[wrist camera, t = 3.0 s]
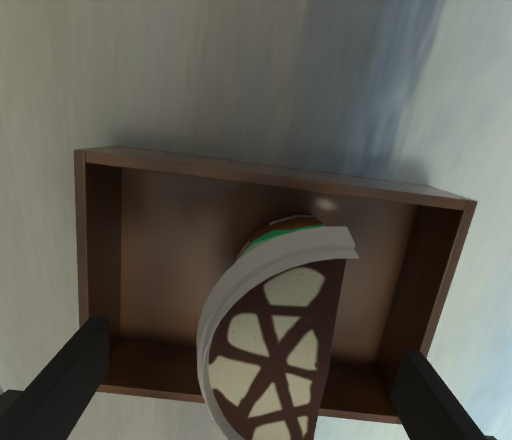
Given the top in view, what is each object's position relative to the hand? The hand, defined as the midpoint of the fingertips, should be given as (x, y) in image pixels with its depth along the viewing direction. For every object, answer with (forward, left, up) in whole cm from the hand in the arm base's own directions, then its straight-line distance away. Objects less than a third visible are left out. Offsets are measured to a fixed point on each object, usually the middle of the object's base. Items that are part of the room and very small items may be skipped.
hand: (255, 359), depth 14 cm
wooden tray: (0, 0, -9) cm, 9 cm away
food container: (0, 0, -9) cm, 9 cm away
